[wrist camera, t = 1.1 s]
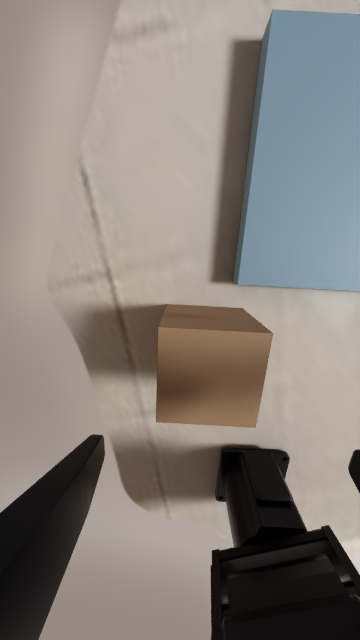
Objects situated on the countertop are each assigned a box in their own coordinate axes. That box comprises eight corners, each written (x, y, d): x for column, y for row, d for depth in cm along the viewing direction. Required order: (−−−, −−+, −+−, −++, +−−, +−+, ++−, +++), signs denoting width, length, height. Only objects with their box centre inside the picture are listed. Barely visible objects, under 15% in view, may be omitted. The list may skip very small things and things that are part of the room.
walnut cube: (232, 374, 18) (255, 427, 13) (164, 371, 18) (156, 421, 13) (242, 308, 17) (273, 333, 11) (166, 304, 17) (158, 327, 11)
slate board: (415, 292, 16) (438, 295, 15) (232, 282, 16) (237, 284, 15) (502, 52, 12) (545, 24, 11) (262, 39, 12) (272, 9, 11)
